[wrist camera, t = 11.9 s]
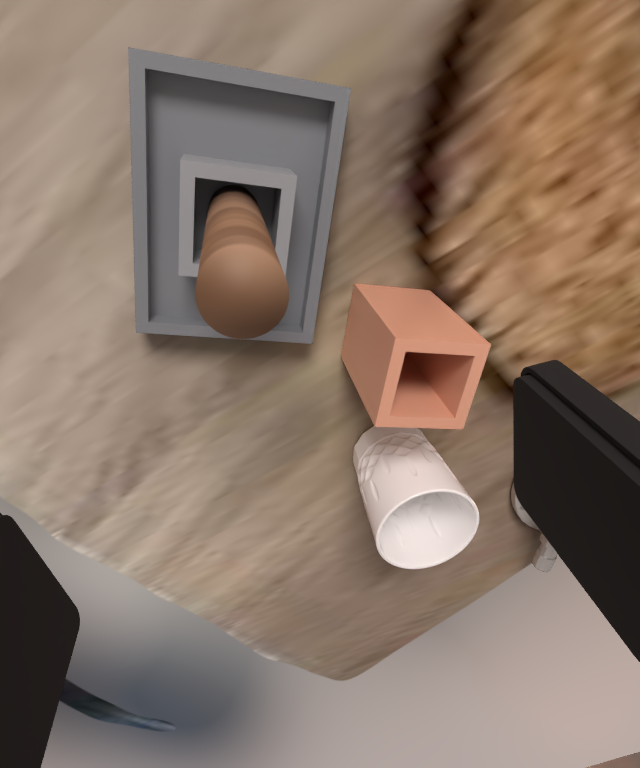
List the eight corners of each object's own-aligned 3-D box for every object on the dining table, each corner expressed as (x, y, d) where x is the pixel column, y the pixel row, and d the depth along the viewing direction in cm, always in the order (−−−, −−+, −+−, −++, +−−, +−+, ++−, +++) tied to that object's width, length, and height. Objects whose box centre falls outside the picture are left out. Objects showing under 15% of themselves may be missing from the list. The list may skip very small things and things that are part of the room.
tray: (307, 330, 38) (317, 356, 34) (140, 319, 35) (131, 345, 31) (342, 89, 31) (359, 87, 27) (135, 51, 28) (121, 43, 24)
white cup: (334, 479, 46) (362, 566, 37) (361, 407, 42) (398, 484, 34) (412, 488, 48) (454, 572, 39) (443, 419, 45) (497, 495, 36)
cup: (411, 360, 41) (462, 429, 32) (340, 356, 40) (374, 426, 31) (429, 290, 38) (490, 344, 30) (354, 283, 37) (395, 337, 28)
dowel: (256, 239, 33) (283, 342, 18) (207, 234, 32) (193, 336, 18) (261, 188, 32) (294, 255, 17) (209, 181, 31) (197, 244, 16)
